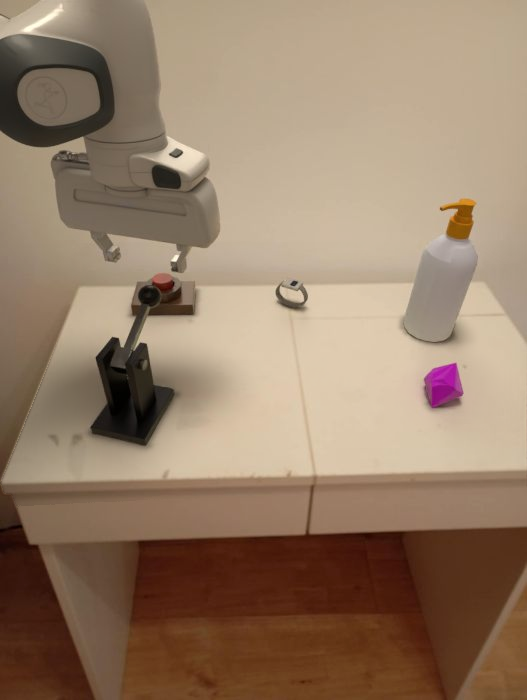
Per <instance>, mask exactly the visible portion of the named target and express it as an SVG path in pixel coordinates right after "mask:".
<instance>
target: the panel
mask: <svg viewBox="0 0 527 700" xmlns="http://www.w3.org/2000/svg"><path fill="white" fill-rule="evenodd" d="M171 276H172V279H173V287H172V288H171V289H169V290H166V291H160V292H161V301H160V303H159V304H158V305H157V306H156V307H153V308H150V311H149V313H148V316H163V315H164V316H168V315H169V316H170V315H171V316H173V315H180V316H181V315H194V314H195V301H196V292H197V291H196V281H195V280H180V279H179V278H178V277H176V276H173V275H171ZM152 278H153V277H151V278H149V279H148V280H147V281H137V282H136V285H135V289H134V293H133V296H132V299H131V300H132V301H131V304H130V308H131V312H132V316H136V315H137V313H138V310H139V308H140V305H141V304H140V302H139V300H138V292H139V290H140V289H141V288H142V287H143V286H145V285H153V281H152Z"/></svg>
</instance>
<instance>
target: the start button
mask: <svg viewBox="0 0 527 700" xmlns="http://www.w3.org/2000/svg"><path fill="white" fill-rule="evenodd" d="M172 276H173V275H171V274H170V273H167V272H160V273H156V274H155V275H153V276H152V277H151V278H152V281H153V286H155V287H157V288H158V289H159V290H160V291H166V290H169V289H171V288H172V287H173V279H172Z"/></svg>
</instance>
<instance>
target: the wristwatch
mask: <svg viewBox="0 0 527 700" xmlns="http://www.w3.org/2000/svg"><path fill="white" fill-rule="evenodd" d="M281 288H285V289H289V290H291V291H295V292H299V291H300V292H301V294H302V295H303V301H302V302H298V303H296V302H291V301H289V300H288V299H287V298H285V297H284V296H283V295H282V293H281V290H280V289H281ZM275 296H276V298H277V300H278V301H280V303H281V304H283V305H285V306H287V307H289V308H294V309H295V308H300V307H303V306H305V304H306V303H307V302H308V299H309V293H308V291H307V288H306V287H305V286H304V282H303V281H300V280H297V279H293V278H289V277H286V279H285V280H282V281H281V282H280V283H279V284H278V285H277V287H276V288H275Z"/></svg>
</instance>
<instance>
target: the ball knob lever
mask: <svg viewBox="0 0 527 700" xmlns="http://www.w3.org/2000/svg"><path fill="white" fill-rule="evenodd" d="M138 300H139V302H140V304H141V305H140V308H139V310H138V313H137V315H135V318H134V321H133V323H132V325H131V328H130V330H129V333H128V335H127V338H126V340H125V342H124V344H123V346H121V347H119V346H117V347H116V350H115V352H114V355H113V357H112V359H111V362H110V364H109V365H110V367H111V368H112V369H113V370H114V371H115V372H117V373H122V374H126V375H127V372H126V367H125V363H126V361H127V360H128V358H129V357H130V356H131V354H132V353H133V352H134V350H135V349H136V347H137V345H138V344H137V343H138V341H139V338H140V336H141V333H142V331H143V328H144V326H145V323H146V321H147V318H148V316H149V315H148V313H149V311H150V308H153V307H156V306H157V305H158V304H159V303H160V301H161V292H160V290H159V289H158V288H157V287H155V286H153V285H145V286H143V287H142V288H141V289H140V290H139V292H138Z"/></svg>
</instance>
